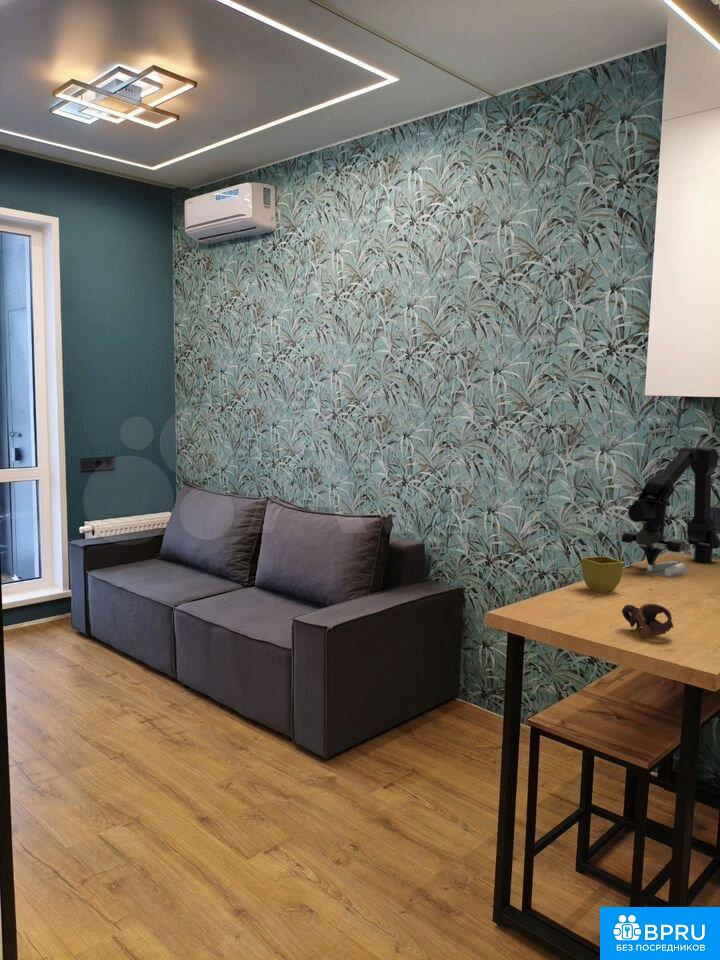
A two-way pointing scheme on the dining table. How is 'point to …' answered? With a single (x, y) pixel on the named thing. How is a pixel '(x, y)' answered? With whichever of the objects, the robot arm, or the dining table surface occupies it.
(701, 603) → the dining table surface
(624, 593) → the dining table surface
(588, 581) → the flower pot
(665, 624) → the dark brown openwork sculpture
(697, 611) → the dining table surface
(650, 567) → the tong arm
